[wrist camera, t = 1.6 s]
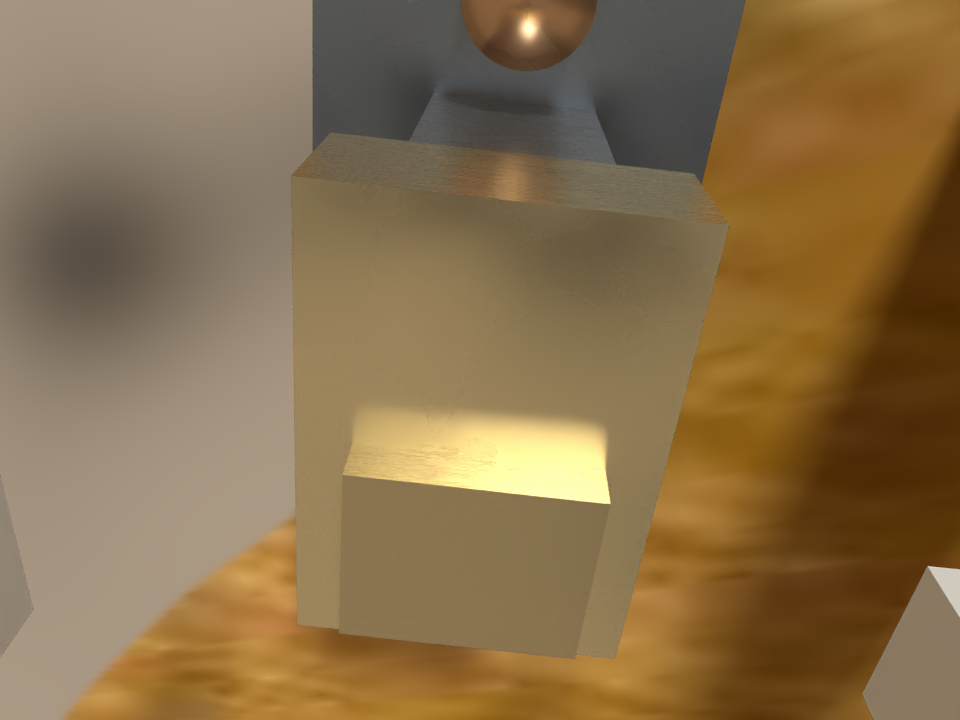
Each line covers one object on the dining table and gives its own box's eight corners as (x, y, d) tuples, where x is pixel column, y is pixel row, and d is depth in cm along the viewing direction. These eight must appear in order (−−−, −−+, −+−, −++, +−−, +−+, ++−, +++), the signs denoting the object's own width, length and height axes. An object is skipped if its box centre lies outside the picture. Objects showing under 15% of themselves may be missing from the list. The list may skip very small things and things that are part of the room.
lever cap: (602, 562, 20) (620, 697, 17) (326, 532, 20) (285, 661, 17) (693, 173, 15) (744, 247, 12) (330, 132, 15) (273, 194, 12)
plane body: (605, 495, 29) (631, 676, 22) (331, 465, 29) (271, 638, 22) (728, -60, 20) (836, -51, 13) (339, -105, 20) (244, -119, 13)
